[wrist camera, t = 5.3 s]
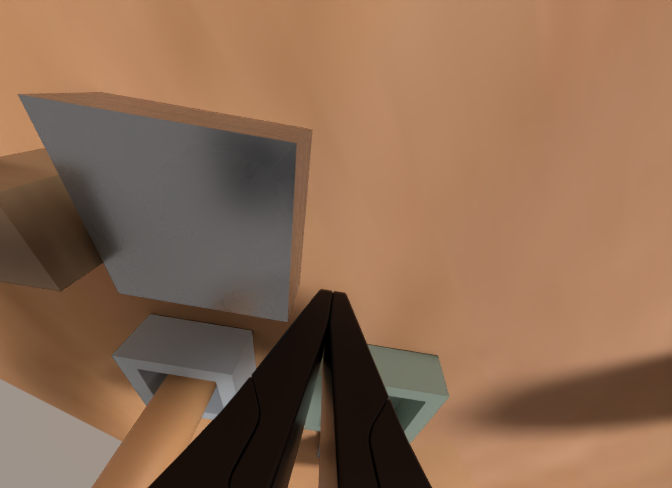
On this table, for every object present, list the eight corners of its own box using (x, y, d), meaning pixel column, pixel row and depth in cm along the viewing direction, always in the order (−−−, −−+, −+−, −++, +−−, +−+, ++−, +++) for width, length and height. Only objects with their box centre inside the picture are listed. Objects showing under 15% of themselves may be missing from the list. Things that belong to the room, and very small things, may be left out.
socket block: (257, 382, 20) (242, 424, 18) (175, 369, 20) (148, 409, 18) (251, 330, 16) (231, 375, 14) (149, 314, 16) (111, 355, 14)
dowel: (232, 366, 19) (132, 584, 11) (193, 359, 19) (61, 572, 11) (227, 342, 17) (102, 581, 9) (184, 335, 17) (18, 567, 9)
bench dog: (140, 236, 13) (60, 291, 9) (84, 227, 13) (-16, 279, 9) (110, 159, 10) (-9, 194, 7) (42, 148, 10) (-109, 178, 7)
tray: (403, 408, 20) (408, 445, 18) (310, 393, 20) (304, 428, 18) (437, 355, 16) (449, 396, 14) (318, 336, 16) (312, 374, 14)
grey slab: (301, 279, 14) (287, 322, 11) (163, 255, 14) (118, 293, 11) (314, 127, 9) (296, 143, 7) (110, 92, 9) (17, 93, 7)
